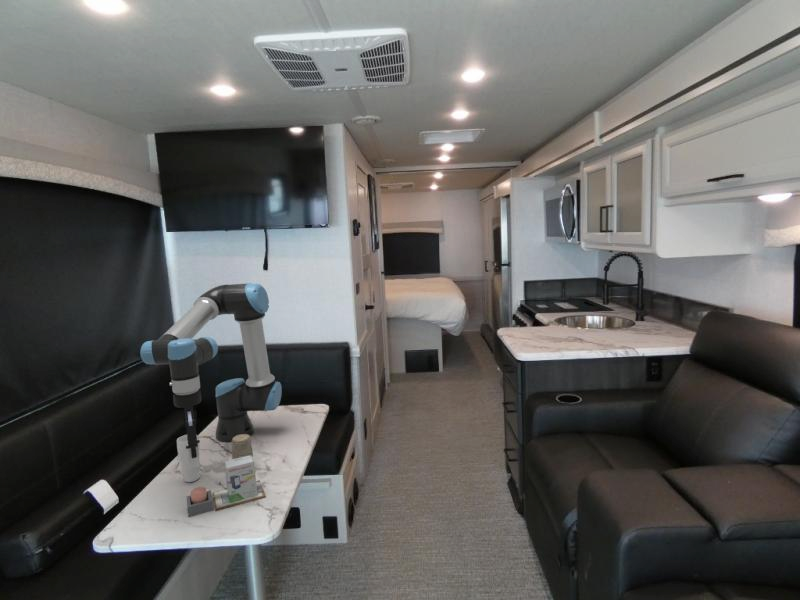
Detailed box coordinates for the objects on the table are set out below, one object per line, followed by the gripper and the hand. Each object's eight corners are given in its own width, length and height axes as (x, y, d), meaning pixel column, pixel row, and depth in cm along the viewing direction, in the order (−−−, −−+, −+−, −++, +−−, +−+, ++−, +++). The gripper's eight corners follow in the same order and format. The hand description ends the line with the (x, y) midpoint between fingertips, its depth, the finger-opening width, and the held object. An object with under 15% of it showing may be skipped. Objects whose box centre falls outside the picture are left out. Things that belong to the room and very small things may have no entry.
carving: (258, 465, 170) (255, 433, 168) (243, 475, 163) (239, 442, 162) (244, 462, 173) (241, 431, 171) (229, 472, 166) (225, 440, 164)
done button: (191, 501, 145) (190, 489, 145) (206, 497, 147) (205, 485, 146) (192, 508, 141) (190, 496, 141) (207, 504, 143) (206, 492, 142)
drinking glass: (206, 475, 164) (202, 434, 162) (192, 485, 158) (187, 443, 156) (191, 473, 167) (186, 432, 165) (176, 482, 160) (171, 441, 158)
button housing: (187, 505, 146) (186, 496, 145) (211, 499, 149) (210, 490, 148) (188, 516, 140) (187, 507, 139) (213, 510, 143) (212, 500, 142)
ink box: (255, 488, 153) (251, 454, 151) (258, 495, 148) (254, 460, 146) (227, 495, 149) (223, 460, 147) (229, 503, 144) (225, 467, 143)
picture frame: (212, 494, 152) (212, 490, 152) (259, 481, 158) (259, 478, 158) (215, 511, 142) (215, 507, 142) (265, 497, 148) (265, 493, 148)
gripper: (172, 387, 143) (181, 460, 147) (172, 399, 132) (182, 478, 135) (199, 383, 147) (207, 454, 150) (201, 394, 135) (210, 472, 138)
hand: (195, 466), depth 142 cm, fingers closed
